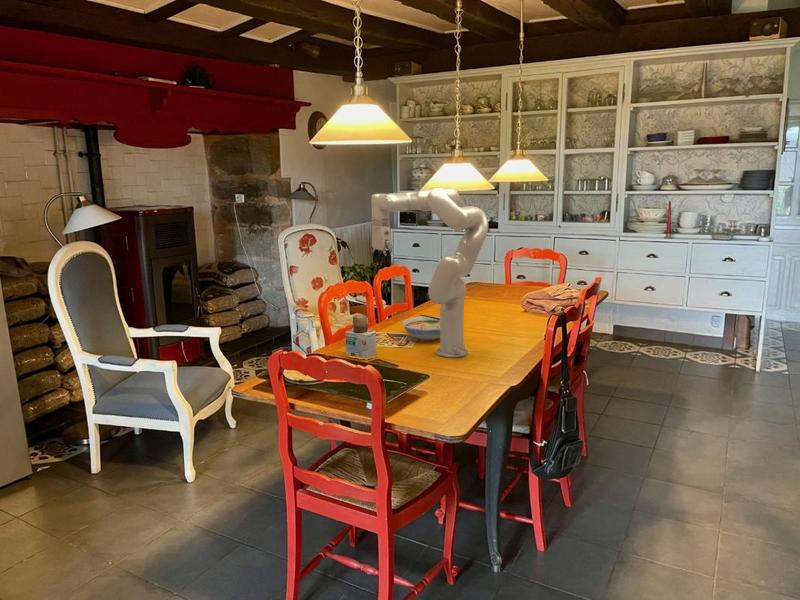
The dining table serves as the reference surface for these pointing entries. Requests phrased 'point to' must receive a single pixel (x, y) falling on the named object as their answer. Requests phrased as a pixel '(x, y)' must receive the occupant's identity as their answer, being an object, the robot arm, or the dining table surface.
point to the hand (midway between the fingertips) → (381, 263)
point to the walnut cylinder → (360, 323)
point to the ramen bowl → (423, 327)
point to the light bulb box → (361, 344)
